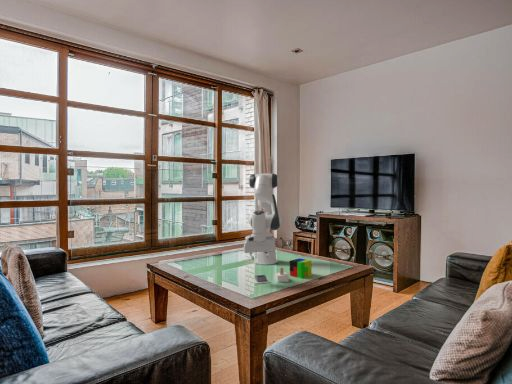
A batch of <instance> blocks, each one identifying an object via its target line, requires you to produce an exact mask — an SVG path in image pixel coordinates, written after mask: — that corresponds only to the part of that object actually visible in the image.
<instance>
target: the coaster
mask: <svg viewBox="0 0 512 384" xmlns="http://www.w3.org/2000/svg"><path fill="white" fill-rule="evenodd" d="M251 281H252V283H253V284H254V285H261V284H262V285H263V284H271V280H270V279H269V278H268V277H267V281H264V282H257V281H256V280H255V278H251Z"/></svg>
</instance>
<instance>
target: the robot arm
mask: <svg viewBox="0 0 512 384" xmlns="http://www.w3.org/2000/svg"><path fill="white" fill-rule="evenodd" d="M279 182H280V179H279V176H278V175H277V173H266V172H265V173H256V174H255V173H253V174H250V176H249V177H248V185H249V188H251V189H253V194H254V198H256V200H257V206H258V207H259V208H260V209H262V210H255V211H253V212H252V213H251V214H250V215H249V216H248V224H249V225H250V227H251V228H252V231H251V234H249V235H246V236H245V237H244V240H245V241H243V253H244V254H249V256H250V260H252V261H253V260H254V264H256V265H268V266H269V265H274V264H276V263H279V260H278V259H277V253H276V250H277V247H276V237H275V236H274V235H273V233H271V232H270V231H268V230H271V231H277V230H278V229H279V228H280V227H281V224H282V221H283V218H282V215H281V213H279V211H278V210H279V209H278V204H277V201H276V196H275V194H274V193H272V192H273V191H272V189H275V188H277V187H278V186H279ZM263 210H264V211H263ZM253 254H254V256H253Z"/></svg>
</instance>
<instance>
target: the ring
mask: <svg viewBox="0 0 512 384" xmlns="http://www.w3.org/2000/svg"><path fill="white" fill-rule="evenodd" d="M267 278H268V277H267V276H266V275H265V274H259V275H255V276H254V279H255V280H256V281H257V282H264V281H267Z"/></svg>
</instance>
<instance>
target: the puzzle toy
mask: <svg viewBox="0 0 512 384" xmlns="http://www.w3.org/2000/svg"><path fill="white" fill-rule="evenodd" d="M311 276H312V260H311V259H310V260H309V259H305V258H301V257H299V258H295V259H291V260H289V277H293V278H297V279H298V278H299V279H305V278H308V277H311Z"/></svg>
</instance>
